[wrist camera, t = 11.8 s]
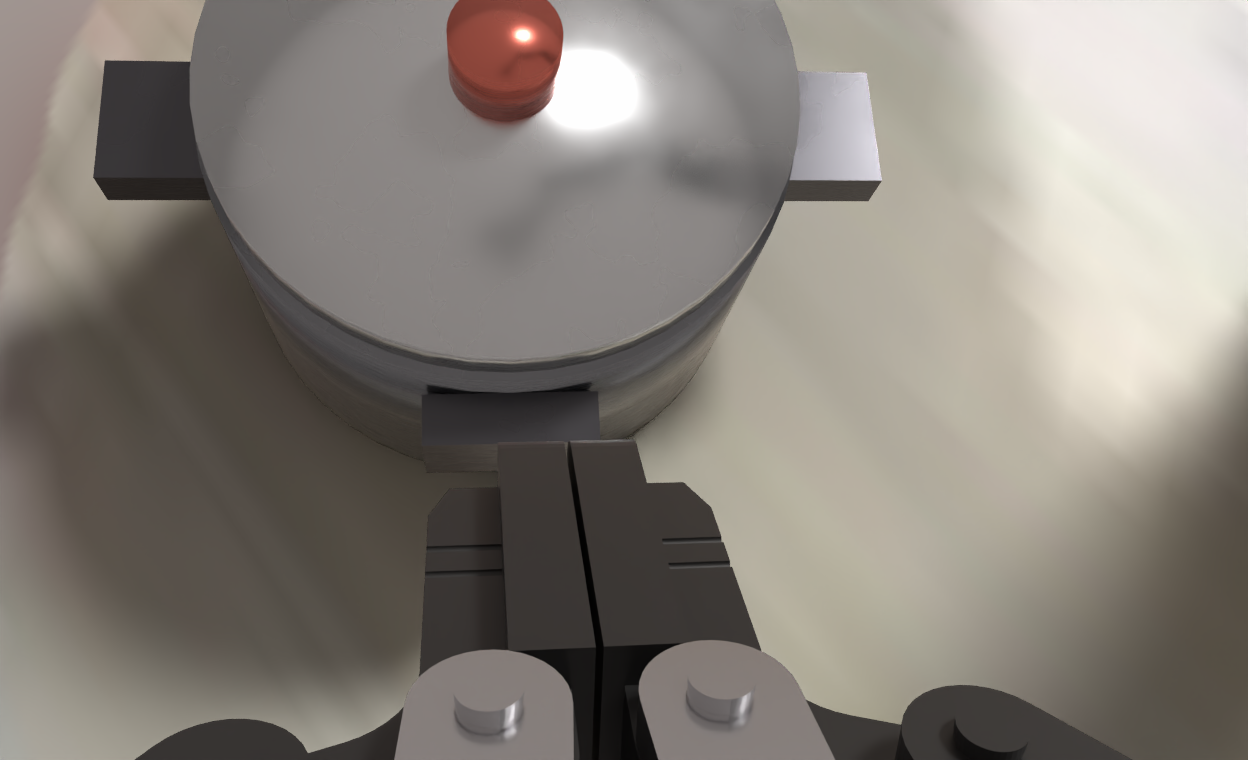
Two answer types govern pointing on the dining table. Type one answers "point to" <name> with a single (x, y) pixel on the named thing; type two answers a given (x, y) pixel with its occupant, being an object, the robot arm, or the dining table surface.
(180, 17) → the dining table surface
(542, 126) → the lid
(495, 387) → the cooker pot
